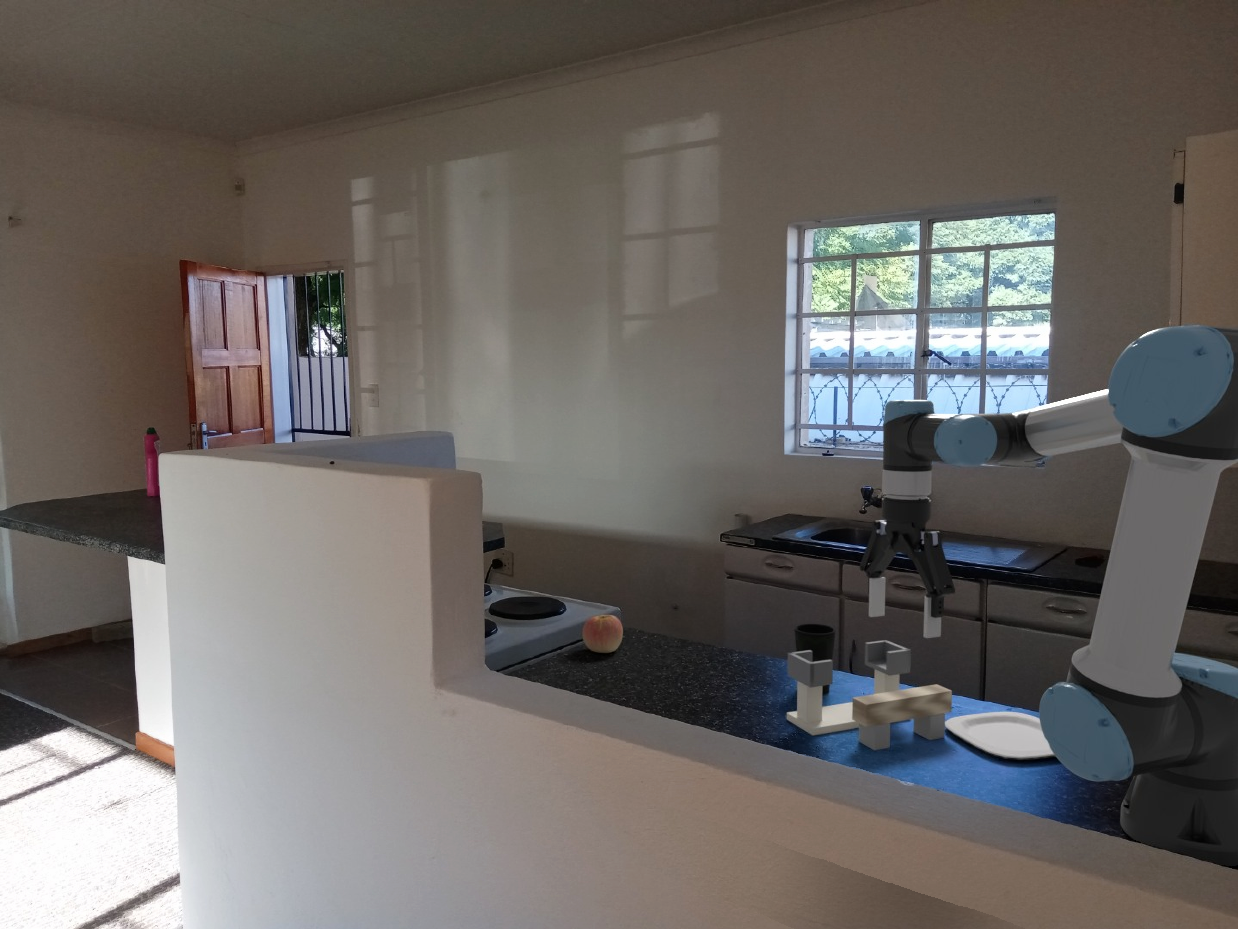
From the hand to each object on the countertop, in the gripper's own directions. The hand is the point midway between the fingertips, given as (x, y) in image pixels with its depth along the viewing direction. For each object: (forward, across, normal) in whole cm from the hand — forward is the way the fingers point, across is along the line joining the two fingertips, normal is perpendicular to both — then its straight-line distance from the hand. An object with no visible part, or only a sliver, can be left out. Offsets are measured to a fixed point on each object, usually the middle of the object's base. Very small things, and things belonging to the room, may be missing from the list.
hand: (903, 626), depth 146 cm
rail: (+15, 0, 0) cm, 15 cm away
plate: (+19, -7, -16) cm, 27 cm away
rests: (+19, 0, 0) cm, 19 cm away
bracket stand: (+19, +11, +2) cm, 22 cm away
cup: (+19, +26, 0) cm, 32 cm away
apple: (+20, +66, +28) cm, 74 cm away
